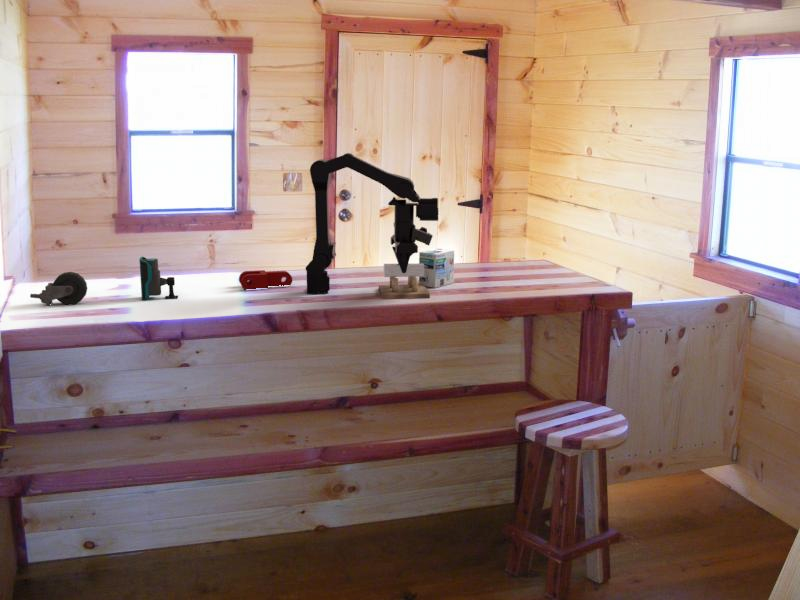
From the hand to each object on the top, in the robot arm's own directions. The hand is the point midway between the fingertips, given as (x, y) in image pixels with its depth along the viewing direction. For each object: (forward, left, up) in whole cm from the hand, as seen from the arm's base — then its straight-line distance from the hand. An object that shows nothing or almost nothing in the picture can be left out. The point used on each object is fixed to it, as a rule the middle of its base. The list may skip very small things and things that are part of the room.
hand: (403, 271), depth 274 cm
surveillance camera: (-72, -1, -7) cm, 72 cm away
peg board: (0, 0, -7) cm, 7 cm away
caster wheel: (-99, -7, -7) cm, 99 cm away
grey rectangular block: (0, 0, -1) cm, 1 cm away
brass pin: (+4, +12, -7) cm, 14 cm away
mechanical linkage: (-41, +12, -7) cm, 44 cm away
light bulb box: (+12, +13, -7) cm, 19 cm away
